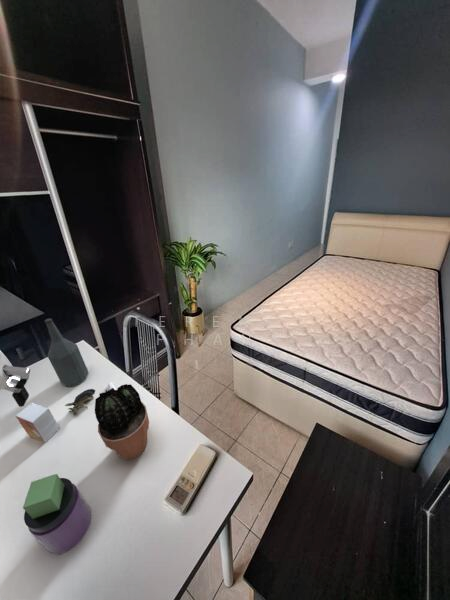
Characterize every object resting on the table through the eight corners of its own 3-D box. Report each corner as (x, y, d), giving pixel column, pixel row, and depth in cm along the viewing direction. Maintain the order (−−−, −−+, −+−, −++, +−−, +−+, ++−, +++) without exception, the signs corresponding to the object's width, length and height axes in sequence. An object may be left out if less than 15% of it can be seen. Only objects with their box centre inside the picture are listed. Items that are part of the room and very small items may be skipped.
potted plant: (156, 459, 74) (137, 402, 62) (107, 475, 71) (78, 418, 59) (154, 420, 85) (138, 366, 74) (112, 432, 82) (89, 378, 70)
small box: (28, 436, 83) (14, 415, 78) (44, 421, 87) (31, 401, 82) (45, 443, 80) (31, 423, 75) (60, 428, 85) (48, 407, 80)
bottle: (85, 366, 111) (60, 309, 97) (92, 377, 105) (66, 318, 91) (59, 378, 105) (29, 320, 91) (65, 391, 99) (33, 330, 85)
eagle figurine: (86, 416, 87) (101, 393, 94) (68, 406, 84) (85, 382, 91) (76, 418, 91) (91, 396, 98) (59, 409, 88) (76, 386, 95)
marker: (106, 385, 101) (105, 381, 99) (111, 382, 102) (110, 378, 101) (123, 413, 88) (121, 409, 87) (129, 410, 90) (127, 405, 88)
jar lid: (21, 541, 51) (15, 536, 50) (36, 491, 59) (32, 486, 58) (71, 522, 53) (67, 517, 52) (80, 477, 61) (77, 471, 60)
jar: (39, 562, 55) (15, 540, 50) (52, 510, 64) (33, 486, 58) (88, 543, 58) (70, 520, 52) (94, 495, 66) (79, 471, 61)
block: (32, 519, 52) (22, 507, 50) (40, 493, 56) (31, 481, 54) (59, 509, 53) (50, 498, 51) (64, 485, 58) (56, 473, 55)
